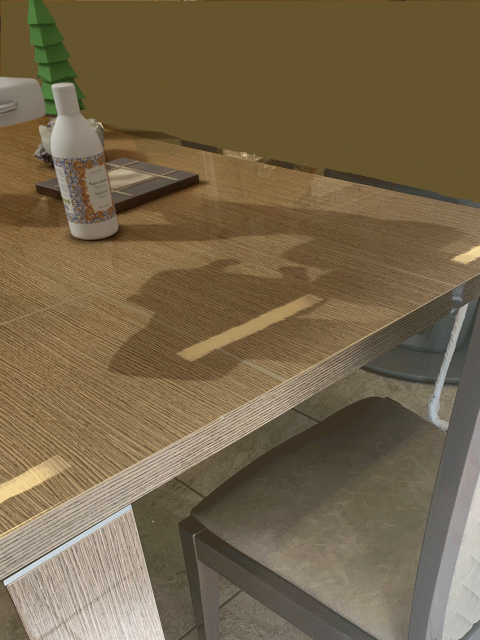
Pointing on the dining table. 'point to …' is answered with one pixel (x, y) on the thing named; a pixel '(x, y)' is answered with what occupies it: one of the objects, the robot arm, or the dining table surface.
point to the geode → (45, 132)
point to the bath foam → (81, 169)
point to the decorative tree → (50, 54)
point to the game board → (133, 182)
